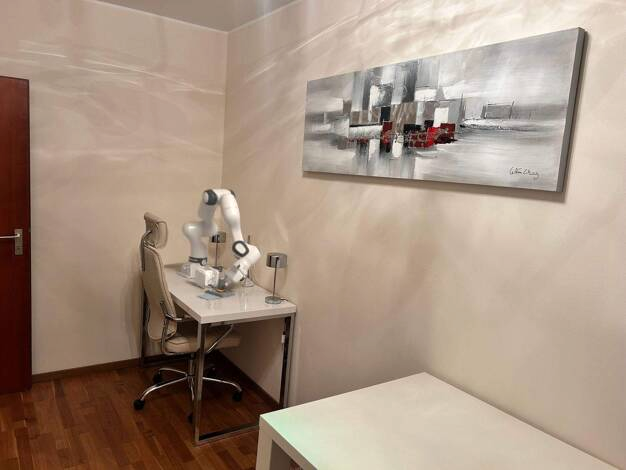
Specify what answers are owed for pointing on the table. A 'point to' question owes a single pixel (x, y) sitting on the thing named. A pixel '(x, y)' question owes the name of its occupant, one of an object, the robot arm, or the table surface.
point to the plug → (221, 285)
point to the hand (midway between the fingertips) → (223, 283)
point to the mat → (208, 296)
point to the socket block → (222, 294)
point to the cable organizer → (206, 277)
